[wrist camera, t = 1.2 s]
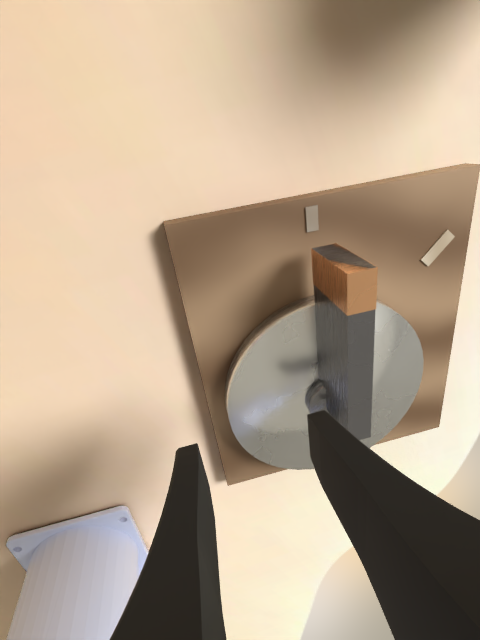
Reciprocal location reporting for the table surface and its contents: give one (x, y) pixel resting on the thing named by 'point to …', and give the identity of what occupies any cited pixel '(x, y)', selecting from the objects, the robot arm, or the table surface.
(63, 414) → the table surface
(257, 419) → the dial
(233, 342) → the dial board
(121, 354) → the table surface
